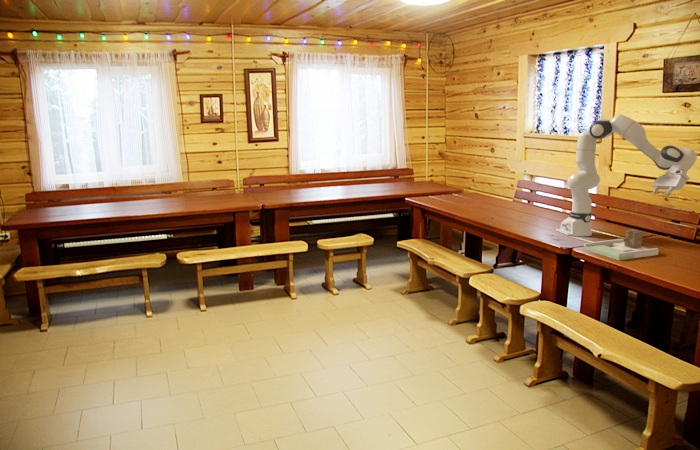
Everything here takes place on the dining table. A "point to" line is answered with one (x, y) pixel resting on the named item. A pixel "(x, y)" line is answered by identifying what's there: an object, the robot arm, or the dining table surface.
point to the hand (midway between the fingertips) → (660, 194)
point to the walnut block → (633, 238)
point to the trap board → (618, 249)
